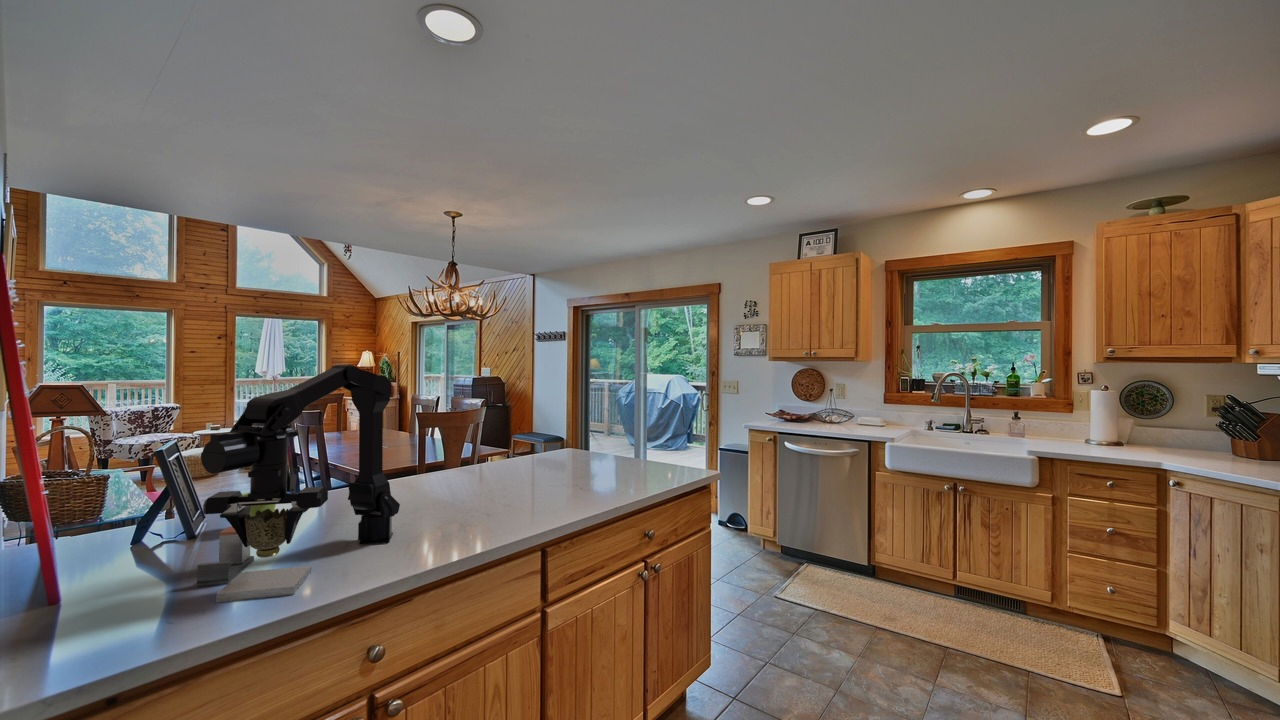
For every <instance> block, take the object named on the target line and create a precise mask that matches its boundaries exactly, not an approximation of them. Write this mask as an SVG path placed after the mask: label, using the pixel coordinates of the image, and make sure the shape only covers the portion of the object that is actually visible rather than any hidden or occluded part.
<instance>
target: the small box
mask: <svg viewBox="0 0 1280 720" xmlns="http://www.w3.org/2000/svg"><path fill="white" fill-rule="evenodd" d="M218 536H219V538H218V539H219V543H218V544H219V545H218V562H223V561H231V564H239V563H243V562H244V561H245V560H246V559H248V558H249V557H250V556H251V546H250V545H249V546H248V547H245V546H244V545H243V543H242V541H241V540H240V538H239V536H238V534H237V533H236V531H235V529H234V528H233V527H232V526H231V525H230V526H227V527H226V528H224V529H223V530H221V531H220V532H219V535H218Z"/></svg>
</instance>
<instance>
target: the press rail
mask: <svg viewBox="0 0 1280 720" xmlns="http://www.w3.org/2000/svg"><path fill="white" fill-rule="evenodd" d="M253 562H255V556H254V555H250V557H249V558H248V559H246V560H245V561H244V562H243V563H239V564H231V561H223V562H219V561H214V562H212V561H211V562H200V563H198V564H197V565H196V566H197V567H196V571H197V572H196V574H197V575H196V587H204V586H205V587H206V586H216V585H227V584H228V583H229V582H230V581H231V580H233V579H234V578H235V577H236V576H237V575H238V574H239V573H240V572H244V570H245V569H246V568H247V567H248V566H250V565H251V564H252V563H253Z"/></svg>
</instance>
